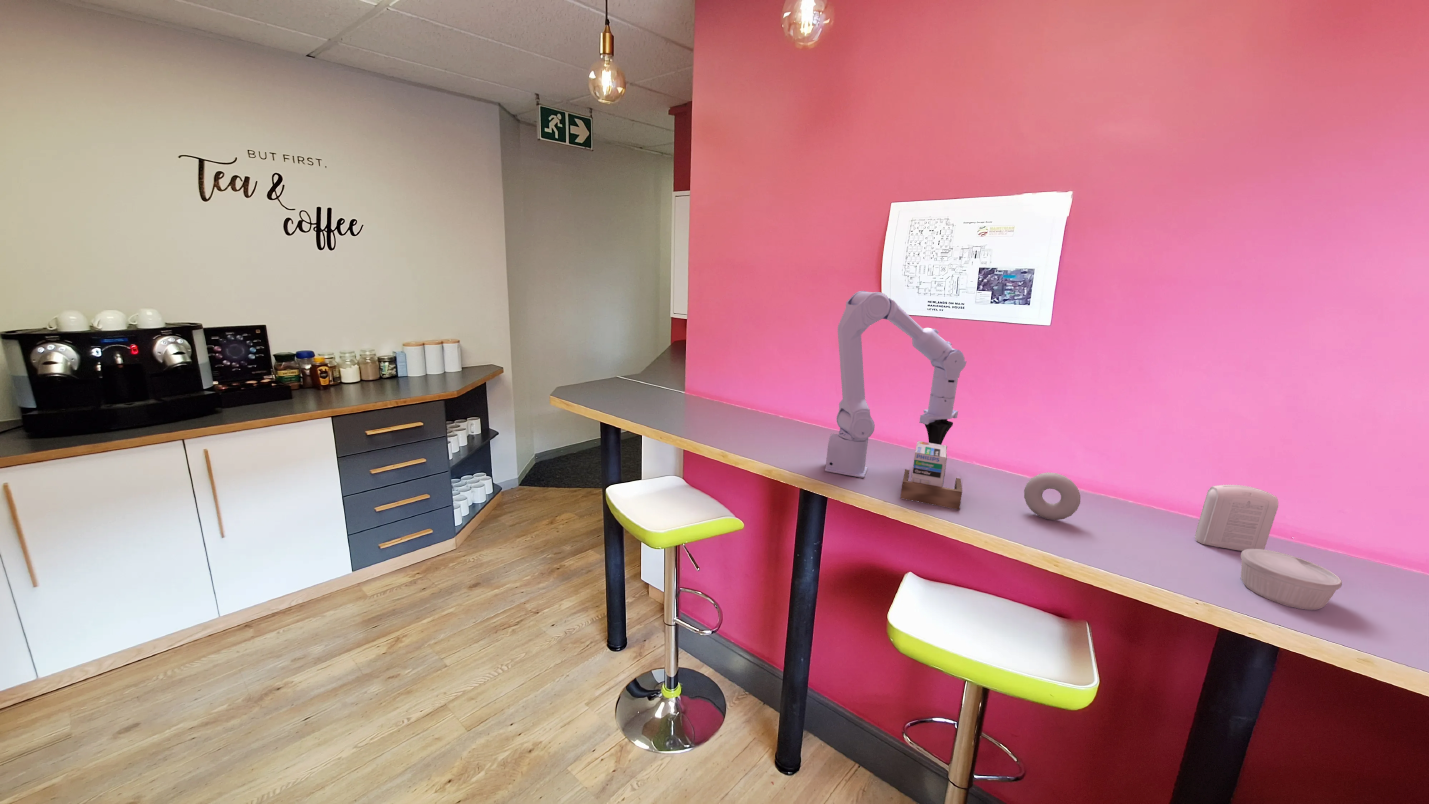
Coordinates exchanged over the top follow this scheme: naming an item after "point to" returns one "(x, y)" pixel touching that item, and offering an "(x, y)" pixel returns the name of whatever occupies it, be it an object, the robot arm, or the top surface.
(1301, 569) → the ramekin
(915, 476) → the light bulb box
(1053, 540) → the top surface
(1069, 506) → the donut
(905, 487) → the walnut sleeve
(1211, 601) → the top surface
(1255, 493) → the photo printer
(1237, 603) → the top surface
